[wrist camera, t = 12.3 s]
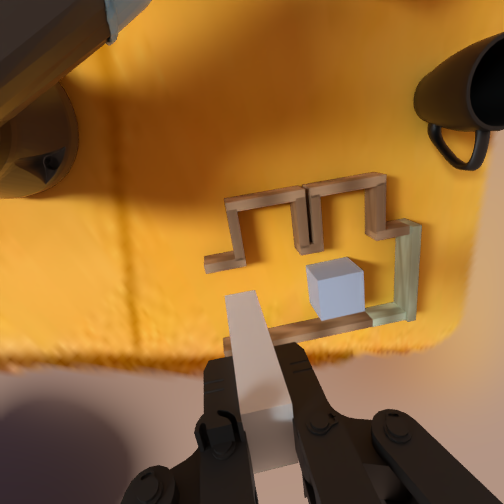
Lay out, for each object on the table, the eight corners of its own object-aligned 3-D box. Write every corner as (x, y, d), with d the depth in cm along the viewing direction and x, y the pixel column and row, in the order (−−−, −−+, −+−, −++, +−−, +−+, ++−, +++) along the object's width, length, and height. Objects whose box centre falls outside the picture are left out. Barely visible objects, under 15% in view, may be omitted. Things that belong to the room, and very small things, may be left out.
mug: (387, 161, 38) (441, 168, 29) (413, 51, 34) (485, 20, 25) (444, 167, 39) (512, 175, 30) (476, 62, 35) (566, 35, 26)
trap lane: (224, 344, 44) (225, 361, 41) (192, 204, 36) (190, 210, 33) (400, 307, 46) (415, 320, 43) (406, 166, 38) (425, 168, 35)
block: (309, 301, 44) (321, 320, 39) (305, 265, 42) (317, 280, 37) (348, 293, 44) (364, 311, 39) (346, 256, 42) (363, 271, 37)
